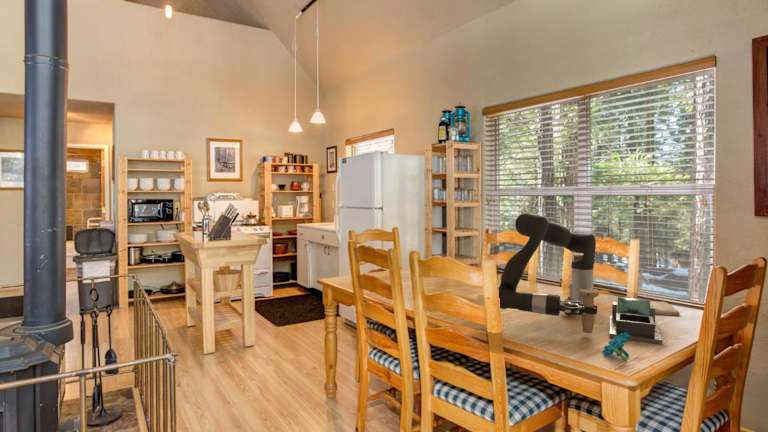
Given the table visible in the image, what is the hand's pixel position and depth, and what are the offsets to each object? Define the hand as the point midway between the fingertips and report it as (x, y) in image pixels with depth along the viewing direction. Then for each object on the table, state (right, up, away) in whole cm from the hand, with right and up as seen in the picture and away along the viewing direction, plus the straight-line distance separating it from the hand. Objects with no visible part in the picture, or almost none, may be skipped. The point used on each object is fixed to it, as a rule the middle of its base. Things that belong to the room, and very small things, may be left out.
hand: (596, 309), depth 161 cm
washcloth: (+45, -9, +39) cm, 60 cm away
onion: (+3, -9, +30) cm, 32 cm away
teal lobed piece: (-2, -11, -17) cm, 21 cm away
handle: (-3, -9, +2) cm, 9 cm away
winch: (+18, -10, +10) cm, 23 cm away
